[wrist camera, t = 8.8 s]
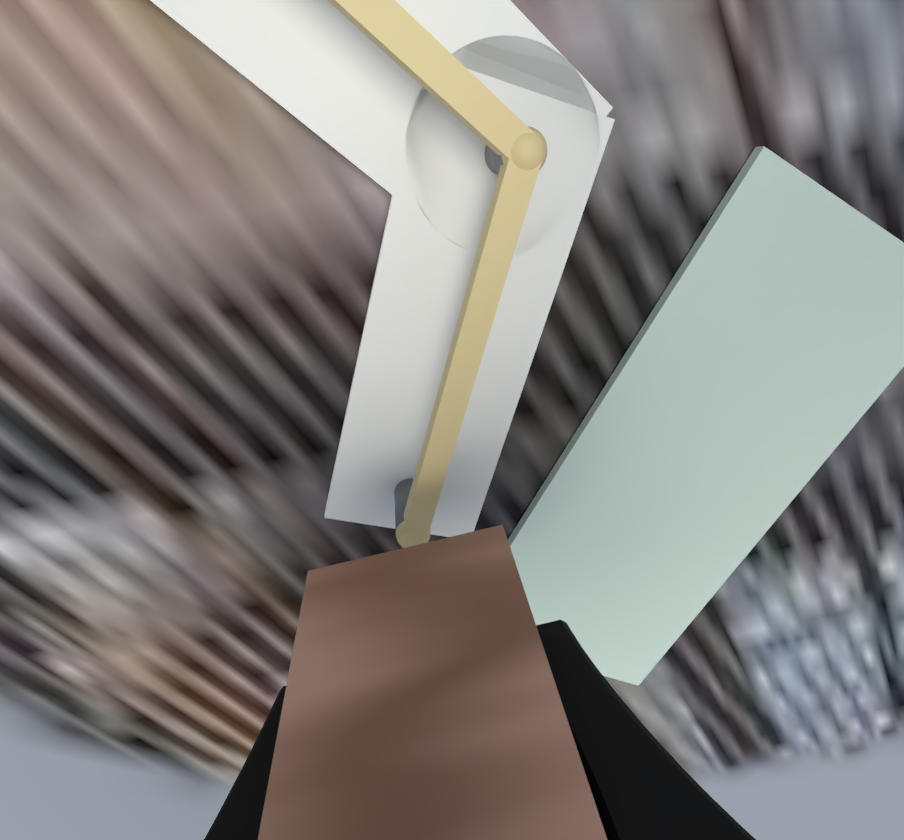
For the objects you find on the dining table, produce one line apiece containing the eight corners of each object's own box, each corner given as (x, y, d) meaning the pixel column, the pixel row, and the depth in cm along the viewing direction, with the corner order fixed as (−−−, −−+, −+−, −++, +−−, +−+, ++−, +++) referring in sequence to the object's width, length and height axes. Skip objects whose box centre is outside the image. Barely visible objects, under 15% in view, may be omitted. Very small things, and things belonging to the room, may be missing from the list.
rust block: (502, 524, 11) (618, 870, 6) (529, 661, 13) (637, 1027, 7) (307, 571, 11) (234, 966, 6) (361, 702, 13) (346, 1102, 7)
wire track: (736, 66, 15) (841, 37, 11) (454, 543, 20) (468, 619, 17) (45, -440, 10) (-128, -750, 7) (-74, 364, 15) (-200, 419, 12)
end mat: (957, 285, 18) (969, 287, 18) (634, 677, 24) (638, 685, 24) (755, 146, 15) (764, 146, 15) (454, 624, 22) (455, 632, 21)
